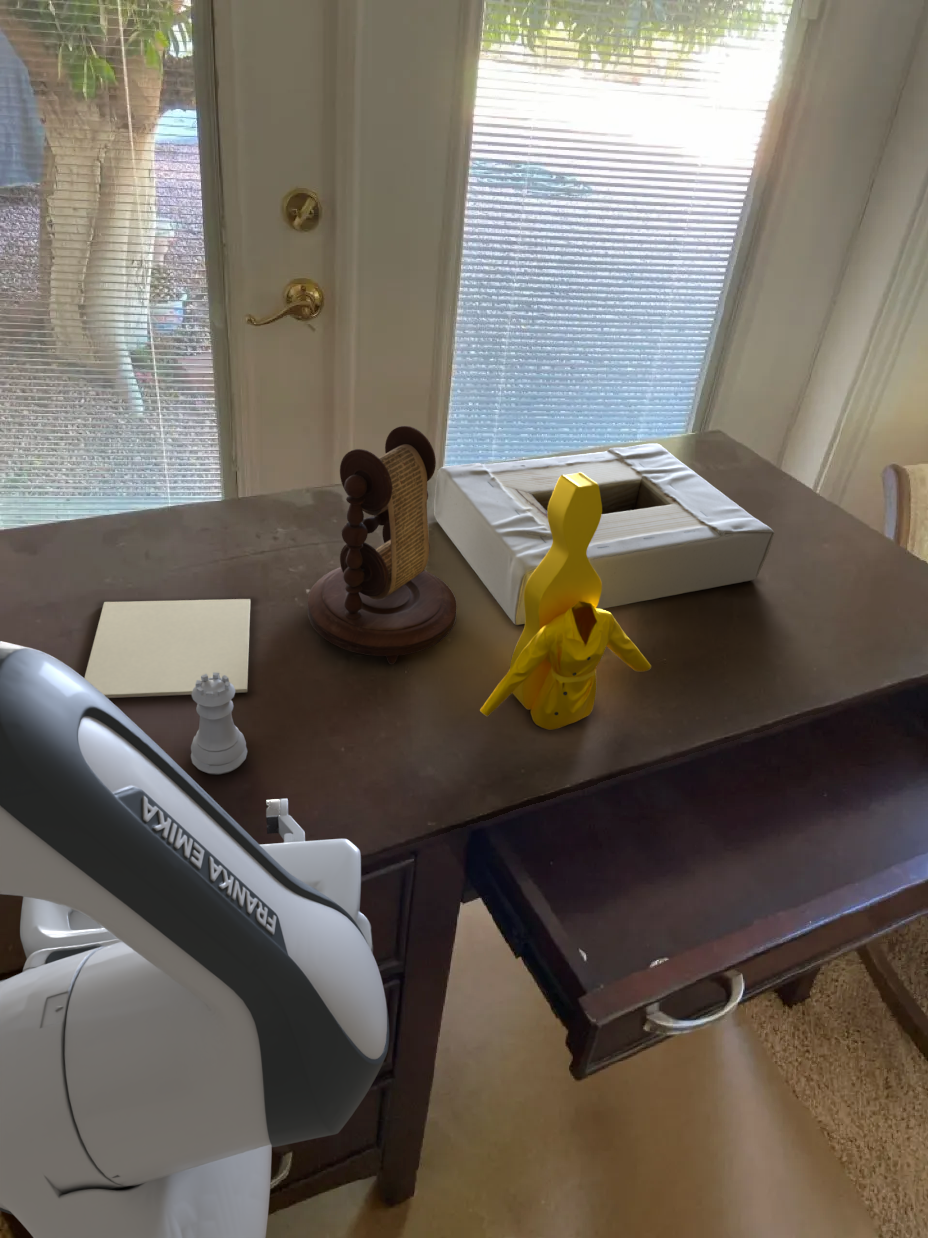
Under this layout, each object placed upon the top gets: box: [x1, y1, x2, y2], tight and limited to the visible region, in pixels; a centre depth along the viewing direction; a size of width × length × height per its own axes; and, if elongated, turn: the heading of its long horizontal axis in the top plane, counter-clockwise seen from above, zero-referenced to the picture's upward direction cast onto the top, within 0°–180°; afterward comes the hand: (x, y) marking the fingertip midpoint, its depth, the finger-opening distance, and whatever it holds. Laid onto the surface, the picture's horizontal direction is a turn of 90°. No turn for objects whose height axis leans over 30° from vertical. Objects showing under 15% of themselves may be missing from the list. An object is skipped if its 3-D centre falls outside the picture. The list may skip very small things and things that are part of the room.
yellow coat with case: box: [479, 472, 652, 731], centre depth 75 cm, size 18×8×22 cm, turn 117°
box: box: [433, 442, 775, 626], centre depth 103 cm, size 23×8×32 cm
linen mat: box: [83, 598, 251, 699], centre depth 83 cm, size 14×14×1 cm
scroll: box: [307, 425, 458, 665], centre depth 84 cm, size 15×15×20 cm
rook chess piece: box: [190, 672, 248, 776], centre depth 70 cm, size 4×4×8 cm
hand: (207, 809), depth 61 cm, fingers open, 8 cm apart
